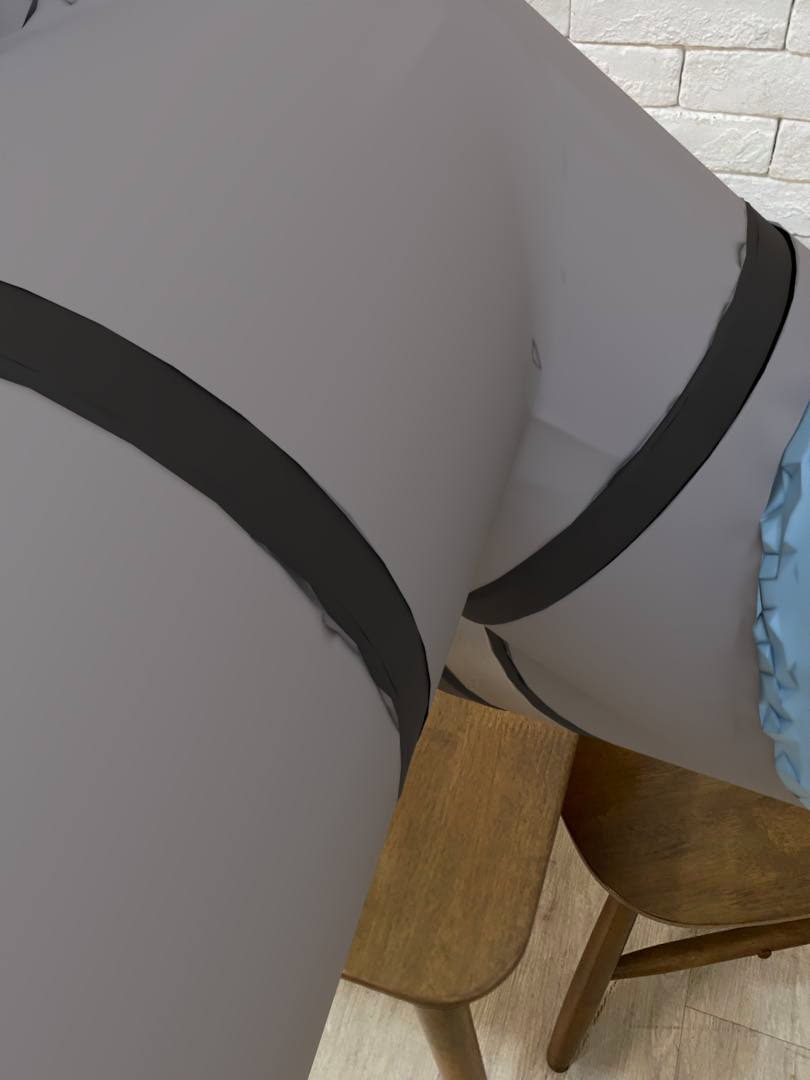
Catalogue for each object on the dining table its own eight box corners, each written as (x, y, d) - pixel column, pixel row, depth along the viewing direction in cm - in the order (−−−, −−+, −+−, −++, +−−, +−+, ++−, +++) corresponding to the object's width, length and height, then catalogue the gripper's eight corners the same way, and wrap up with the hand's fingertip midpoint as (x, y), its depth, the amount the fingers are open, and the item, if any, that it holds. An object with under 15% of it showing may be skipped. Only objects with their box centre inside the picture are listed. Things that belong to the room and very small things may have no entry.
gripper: (390, 822, 24) (240, 702, 46) (768, 593, 28) (461, 585, 50) (263, 553, 23) (173, 564, 45) (671, 358, 27) (403, 457, 49)
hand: (324, 575), depth 47 cm, fingers closed
